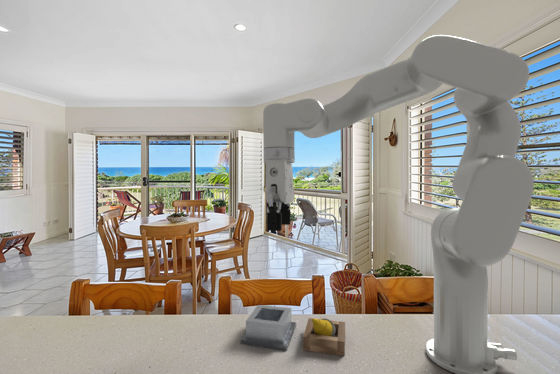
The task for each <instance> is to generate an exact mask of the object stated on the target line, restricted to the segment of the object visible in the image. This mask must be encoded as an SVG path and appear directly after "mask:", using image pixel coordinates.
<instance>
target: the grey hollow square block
mask: <svg viewBox="0 0 560 374" xmlns="http://www.w3.org/2000/svg"><path fill="white" fill-rule="evenodd" d="M296 327H297V322H295V321H292V308H291V307H283V306H282V307H281V306H274V305H273V306H270V305H263V304H258V305H257V306H256V307H255V309H253V310H252V312H251V314H250V315H249V316H248V318H247V319H246V320H245V332H244V334H243V335H242V336H241V338H240V340H239V342H240V344H241V345H244V346H245V345H246V346H252V347H260V348H267V349H273V350H274V349H275V350H281V351H288V348H289V346H290V343H291V341H292V337H293V335H294V333H295V330H296Z"/></svg>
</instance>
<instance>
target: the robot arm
mask: <svg viewBox="0 0 560 374" xmlns="http://www.w3.org/2000/svg"><path fill="white" fill-rule="evenodd" d="M529 79H530V68H529V66H528V63H527V62H526V61H525V60H524V59H523V58H522V57H521V56H519V55H518V54H516V53H513V52H512V51H509V50H506V49H502V48H499V47H495V46H492V45H489V44H484V43H481V42H477V41H474V40H470V39H467V38H462V37H458V36H453V35H445V34H439V35H438V34H437V35H436V34H435V35H432V36H428V37H426V38H424V39H423V40H421V41H420V42H418V44H417V45H416V46H415V47H414V49H413V51H412V53H411V56H410V57H408V58H406V59H404V60H400V61H399V62H396V63H394V64H392V65H391V64H390V65H389V66H387V67H384V68H381V69H379V70H376V71H374V72H372V73H369V74H366V75H364V76H363V77H362V78H360V79H359V80H357V82H356V83H355V84H354V85H353V86H352V88H350V90H349V91H348V92H347V93H345V94H344V95H342V96H341V97H340V98H338V99H336V100H334V101H332V102H329V103H327V104H324V105H323V104H322V103H321V102H320V100H317V99H315V98H302V99H299V100H295V101H291V102H287V103H282V102H278V103H275V102H274V103H270V104H267V105H266V106H265V107H264V109H263V112H262V114H263V115H262V122H263V123H262V127H263V128H262V129H263V131H262V133H263V134H262V135H263V136H262V137H263V164H266V169H265V201H266V202H267V203H266V206H267V208H266V220H267V221H266V224H267V226H266V227H267V228H266V229H267V231H268V232H270V231H272V232H281V230H282V225H285V226H286V225H287V226H290V225H291V223H292V221H291V203H293V202H294V200H295V194H294V193H295V191H294V175H293V164H294V163H295V162H296V161H295V160H296V158H295V133H296V132H299V133H301V134H303V136H305V137H306V138H309V139H317V138H322V137H325V136H327V135H330V134H332V133H336V132H338V131H340V130H343V129H345V128H349V127H351V126H352V125H354V124H356V123H359V122H361V121H363V120H365V119H367V118H369V117H371V116H374V115H375V114H377V113H381V112H382V111H385V110H387V109H390V108H393V107H396V106H398V105H401V104H404V103H407V102H409V101H413V100H415V99H417V98H421V97H423V96H426V95H428V94H431V93H432V92H434V91H436V90H438V89H439V88H441V86H442V85H443V84H444V85H446V86H450V87H453V88H455V90H454V94H453V101H454V104H455V107H456V108H457V110H458V111H459V112H460V113H461V114H462V115H463V117H464V118H465V119H466V121H467V123H468V127H469V131H468V136H467V140H466V143H465V147H464V150H463V152H462V155H461V158H460V160H459V162H458V166H457V169H456V171H455V173H454V176H453V179H452V191H453V193H454V195H455V196H456V197H457V198H458V199H460V200H461V201H462V202H461V204H460V207H459V208H458V207H454V208H448V209H445V210H443V211H442V212H440V213H438V215H437V216H436V217H435V218H434V220H433V221H432V224H431V229H430V232H431V233H430V236H431V247H432V255H433V258H432V259H433V338H431V339H429V340H428V341H427V342H426V344H425V353H426V354H427V356H428V358H429V359H430V360H431V361H432V362H433V363H435V364H436V365H438V366H439V367H441V368H442V369H444V370H446V371H448V372H451V373H454V374H497V373H498V363H497V361H498V360H499V359H504V360H509V361H510V360H511V361H517V360H518V356H517V352H516V350H515V349H513V348H506V347H504V348H503V345H502V344H501V343H500V342H491V341H490V342H489V340H488V335H489V333H488V329H489V328H488V326H489V322H488V317H489V315H488V314H489V313H488V310H489V309H488V308H489V307H488V306H489V305H488V301H489V300H488V299H489V297H488V293H489V278H488V268H487V267H489V266H493V265H496V264H498V263H500V262H501V261H503V260H504V258H505V257H506V256H507V255H508V254H509V252H510V251H511V249H512V247H513V245H514V243H515V241H516V239H517V236H518V233H519V231H520V228H521V226H522V223H523V221H524V218H525V216H526V213H527V210H528V207H529V205H530V202H531V200H532V197H533V194H534V177H533V174H532V171H531V169H530V168H529V166H528V165H527V164H526V163H525V162H524V161H522V160H521V159H519V158H517V157H515V156H516V154H517V150H518V147H519V143H520V141H521V136H522V126H521V122H520V118H519V116H518V114H517V112H516V111H515V109H514V107H513V106H512V104H511V103H510V102H509V101H510V100H512V99H514V98H515V97H517V95H519V94H520V93H521V92H522V91H523V90H524V89H525V87H526V86H527V84H528V82H529Z"/></svg>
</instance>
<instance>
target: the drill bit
mask: <svg viewBox="0 0 560 374" xmlns="http://www.w3.org/2000/svg"><path fill="white" fill-rule="evenodd" d="M331 321H332V320H331ZM331 321H330V319H328V318H315V317H314V318H313V319H312V322H313V334H315V335H323V336H331V337H336V336H335V332H336V330H335V326H334V324H333V323H332V322H331Z"/></svg>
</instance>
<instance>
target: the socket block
mask: <svg viewBox="0 0 560 374" xmlns="http://www.w3.org/2000/svg"><path fill="white" fill-rule="evenodd" d="M312 319H313V318H311V317H309V318H308V320H307V323H306V326H305V330H304V332H303V337H302V350H303V351H305V352H306V351H307V352H313V353H314V352H315V353H321V354H329V355H335V356H342V357H345V354H346V352H345V351H346V321H342V320H341V321H338V320H332V319H331V320H330V319H329V320H330V321H331V322H332V323H333V324H334V326H335V330H336V332H335V336H334V337H331V336H323V335H315V334H313V322H312Z"/></svg>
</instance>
